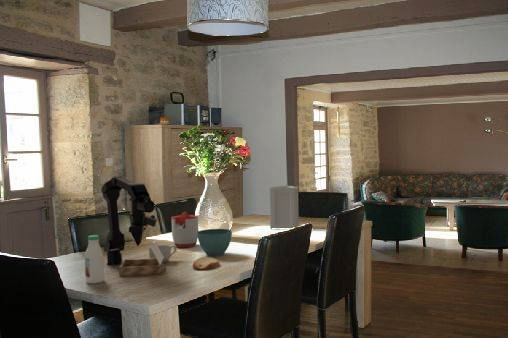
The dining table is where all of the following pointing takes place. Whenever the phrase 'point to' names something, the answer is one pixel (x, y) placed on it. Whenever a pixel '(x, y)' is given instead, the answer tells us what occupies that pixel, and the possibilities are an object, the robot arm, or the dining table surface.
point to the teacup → (163, 252)
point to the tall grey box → (284, 207)
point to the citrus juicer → (185, 230)
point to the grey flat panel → (157, 252)
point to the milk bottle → (94, 261)
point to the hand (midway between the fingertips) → (139, 244)
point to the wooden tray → (140, 267)
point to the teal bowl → (214, 241)
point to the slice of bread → (205, 263)
